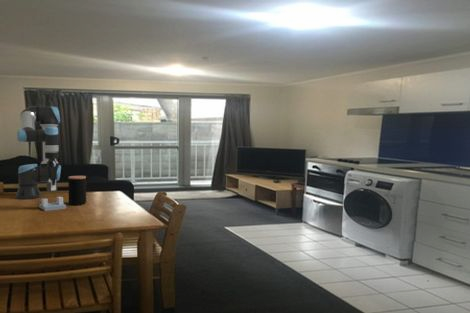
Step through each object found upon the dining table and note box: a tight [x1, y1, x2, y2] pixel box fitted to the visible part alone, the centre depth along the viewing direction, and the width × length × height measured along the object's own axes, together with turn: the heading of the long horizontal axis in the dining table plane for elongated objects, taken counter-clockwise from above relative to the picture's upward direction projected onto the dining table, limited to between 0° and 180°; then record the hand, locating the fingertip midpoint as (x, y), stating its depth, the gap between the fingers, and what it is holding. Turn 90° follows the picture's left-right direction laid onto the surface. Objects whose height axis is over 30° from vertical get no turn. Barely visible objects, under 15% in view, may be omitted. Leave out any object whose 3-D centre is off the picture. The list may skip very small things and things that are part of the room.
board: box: [38, 196, 67, 212], centre depth 230 cm, size 14×12×6 cm
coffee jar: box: [68, 175, 87, 206], centre depth 242 cm, size 11×11×18 cm
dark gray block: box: [46, 181, 58, 192], centre depth 229 cm, size 4×5×5 cm
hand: (52, 189), depth 229 cm, fingers closed on dark gray block, 4 cm apart
